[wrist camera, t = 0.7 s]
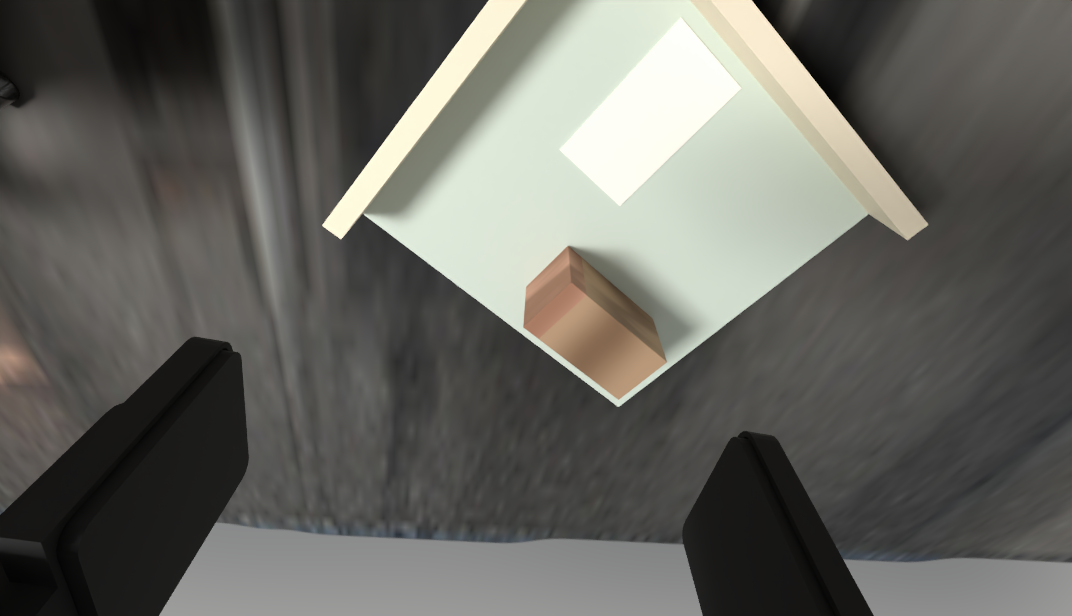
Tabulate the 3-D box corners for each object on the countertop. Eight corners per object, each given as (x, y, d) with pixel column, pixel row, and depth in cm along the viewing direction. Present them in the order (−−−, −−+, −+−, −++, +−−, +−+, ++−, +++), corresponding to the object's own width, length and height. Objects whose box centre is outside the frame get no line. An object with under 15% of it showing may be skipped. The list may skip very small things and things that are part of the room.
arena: (882, 197, 32) (928, 224, 28) (617, 402, 41) (625, 445, 37) (605, -145, 24) (616, -172, 20) (348, 198, 33) (322, 225, 29)
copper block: (652, 318, 36) (667, 362, 32) (610, 353, 38) (618, 399, 34) (567, 245, 34) (571, 282, 29) (526, 286, 35) (523, 327, 31)
